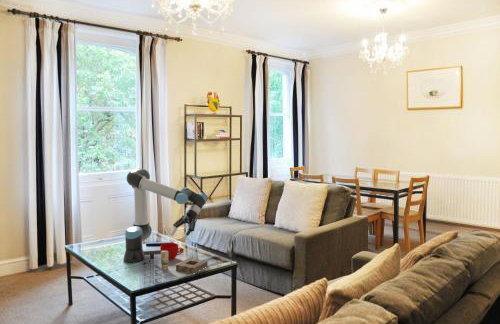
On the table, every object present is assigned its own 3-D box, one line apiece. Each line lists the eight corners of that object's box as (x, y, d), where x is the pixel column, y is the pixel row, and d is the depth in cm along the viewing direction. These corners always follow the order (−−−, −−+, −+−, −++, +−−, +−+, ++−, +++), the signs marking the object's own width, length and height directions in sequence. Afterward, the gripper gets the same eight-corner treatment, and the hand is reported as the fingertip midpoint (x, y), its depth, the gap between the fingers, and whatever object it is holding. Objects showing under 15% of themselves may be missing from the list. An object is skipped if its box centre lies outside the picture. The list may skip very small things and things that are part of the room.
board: (175, 270, 285) (175, 264, 284) (189, 263, 299) (189, 257, 298) (194, 274, 278) (194, 268, 278) (207, 266, 292) (207, 260, 292)
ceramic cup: (179, 262, 300) (179, 249, 299) (157, 261, 303) (157, 247, 302) (186, 256, 312) (186, 243, 311) (164, 255, 316) (164, 242, 315)
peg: (159, 269, 286) (159, 252, 285) (164, 267, 291) (163, 250, 290) (165, 270, 284) (165, 253, 283) (170, 268, 289) (169, 251, 287)
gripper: (208, 217, 297) (192, 243, 287) (184, 212, 313) (169, 236, 304) (202, 211, 293) (186, 237, 283) (179, 206, 309) (163, 231, 299)
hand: (177, 237), depth 293 cm, fingers open, 13 cm apart
